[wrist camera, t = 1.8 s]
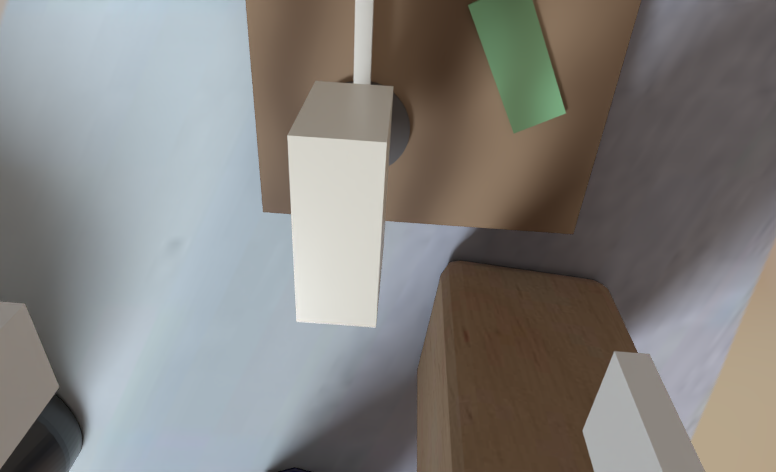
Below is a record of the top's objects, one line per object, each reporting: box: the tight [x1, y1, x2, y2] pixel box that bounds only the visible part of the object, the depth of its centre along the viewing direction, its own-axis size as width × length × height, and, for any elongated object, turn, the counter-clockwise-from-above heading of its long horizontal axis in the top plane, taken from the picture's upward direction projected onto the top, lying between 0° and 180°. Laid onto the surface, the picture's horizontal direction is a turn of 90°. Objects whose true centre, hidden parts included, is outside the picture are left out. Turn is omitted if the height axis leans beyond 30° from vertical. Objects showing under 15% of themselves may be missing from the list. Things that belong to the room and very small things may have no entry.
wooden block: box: [417, 261, 638, 472], centre depth 26 cm, size 10×10×20 cm
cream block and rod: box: [287, 0, 394, 328], centre depth 19 cm, size 3×14×9 cm, turn 177°
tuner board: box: [246, 0, 641, 234], centre depth 24 cm, size 16×16×3 cm
